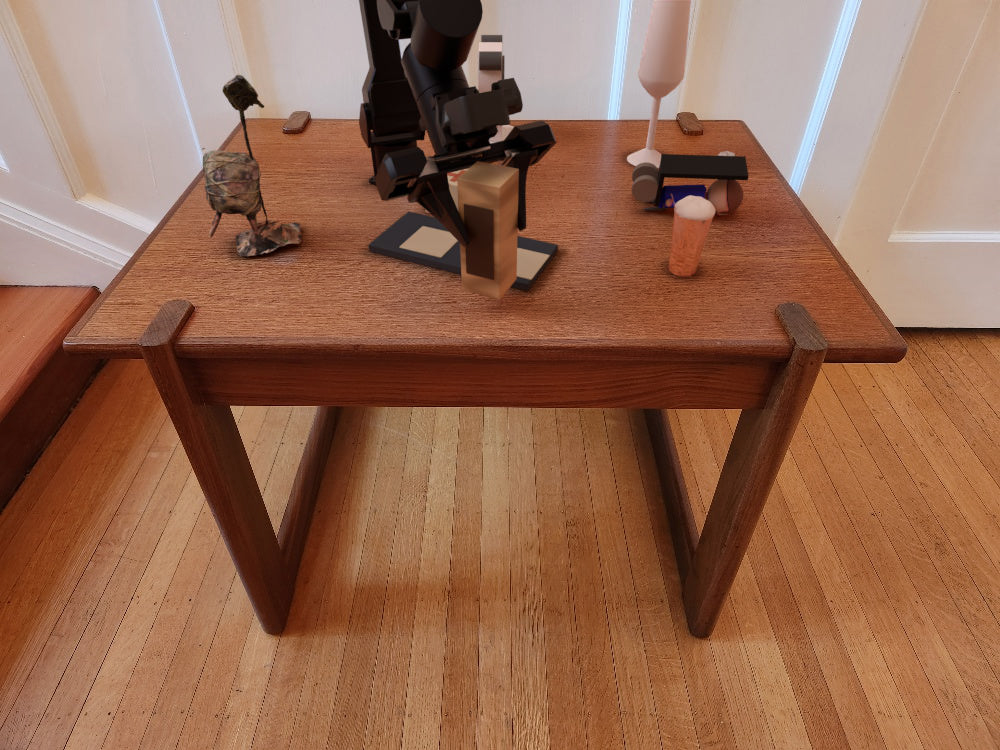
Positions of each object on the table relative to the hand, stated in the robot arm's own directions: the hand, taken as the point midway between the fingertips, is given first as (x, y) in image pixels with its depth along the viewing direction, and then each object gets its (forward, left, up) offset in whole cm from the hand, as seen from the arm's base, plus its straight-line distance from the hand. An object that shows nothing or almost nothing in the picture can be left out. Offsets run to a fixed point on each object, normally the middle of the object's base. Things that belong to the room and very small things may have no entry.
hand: (495, 237), depth 66 cm
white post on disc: (-22, +46, -9) cm, 52 cm away
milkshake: (+17, +17, -9) cm, 26 cm away
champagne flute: (+5, +48, -9) cm, 49 cm away
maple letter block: (-1, +1, -7) cm, 7 cm away
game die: (+17, +48, -9) cm, 52 cm away
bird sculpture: (-34, +1, -9) cm, 35 cm away
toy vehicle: (+14, +33, -9) cm, 37 cm away
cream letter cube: (-16, +20, -9) cm, 27 cm away
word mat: (-9, +10, -9) cm, 16 cm away
